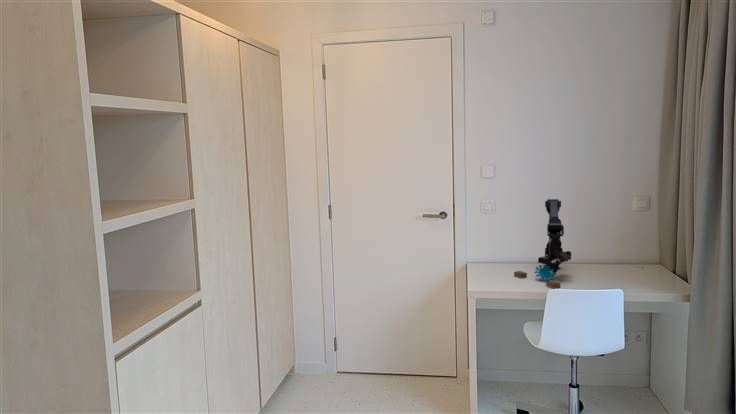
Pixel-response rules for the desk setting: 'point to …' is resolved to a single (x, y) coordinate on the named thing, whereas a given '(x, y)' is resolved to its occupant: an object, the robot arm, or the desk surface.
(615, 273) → the desk surface
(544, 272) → the gear
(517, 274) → the joist marks
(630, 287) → the desk surface
